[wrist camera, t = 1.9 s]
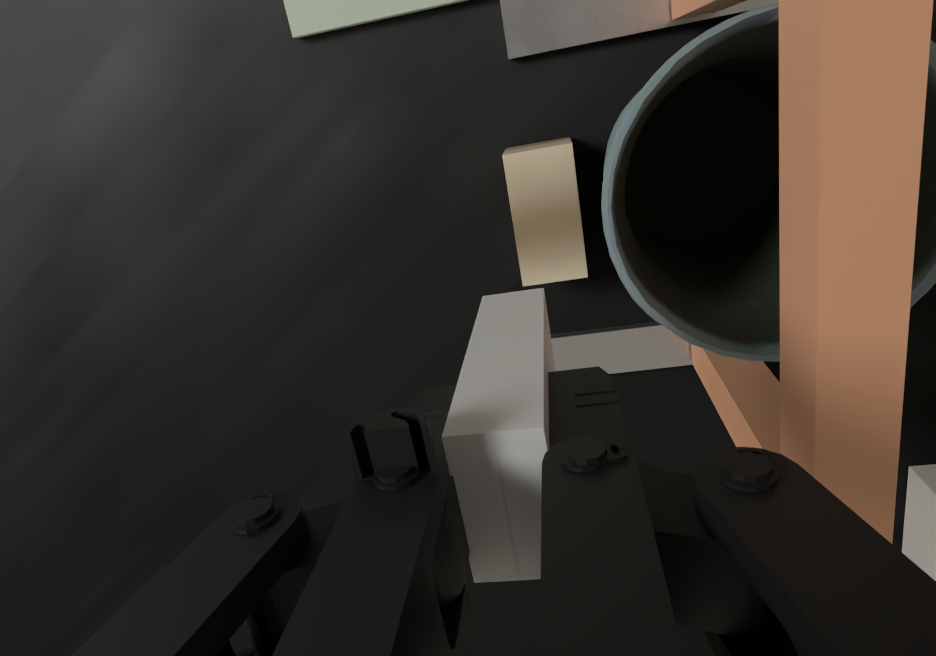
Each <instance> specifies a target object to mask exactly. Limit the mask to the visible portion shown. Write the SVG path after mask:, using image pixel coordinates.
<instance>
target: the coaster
mask: <svg viewBox="0 0 936 656" xmlns="http://www.w3.org/2000/svg"><path fill="white" fill-rule="evenodd" d="M283 1H284V5H285V9H286V13H287V17H288V21H289V24H290V28H291V32H292V36H293V38H302V37H306V36H311V35H315V34H320V33H324V32H329V31H333V30H338V29H342V28H347V27H351V26H356V25H360V24H365V23H369V22H374V21H378V20H383V19H387V18H392V17H396V16H401V15H405V14H410V13H414V12H419V11H423V10H428V9H432V8H437V7H441V6H446V5H450V4H455V3H459V2H464V1H468V0H283Z"/></svg>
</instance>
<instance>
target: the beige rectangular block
mask: <svg viewBox="0 0 936 656" xmlns="http://www.w3.org/2000/svg"><path fill="white" fill-rule="evenodd" d="M502 157H503V163H504V169H505V176H506V182H507V188H508V195H509V201H510V207H511V214H512V220H513V226H514V233H515V239H516V245H517V252H518V258H519V264H520V271H521V277H522V284H523V286H529V285H536V284H543V283H550V282H558V281H565V280H572V279H579V278H586V277H588V273H587V264H586V256H585V247H584V239H583V230H582V222H581V213H580V205H579V196H578V188H577V180H576V171H575V163H574V154H573V146H572V141H571V139H570V137H566V138H560V139H555V140H549V141H544V142H538V143H532V144H527V145H521V146H516V147H510V148H506V149H505V151H504V153H503V155H502Z"/></svg>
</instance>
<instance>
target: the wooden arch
mask: <svg viewBox="0 0 936 656" xmlns="http://www.w3.org/2000/svg"><path fill="white" fill-rule="evenodd" d="M744 1H747V0H671V8H672V20H676V19H681V18H686V17H691V16H696V15H701V14H706V13H711V12H715V11H720V10H724V9H726V8H729V7H731V6H734V5H736V4H739V3H742V2H744ZM932 12H933V0H779V254H780V382H779V381H778V380H777V379H776V377H775V376H774V375H773V374H772V372H771V371H770V370H769V368H768V367H767V366H766V365H765V363H764V362H763V361H748V360H743V359H737V358H732V357H726V356H722V355H719V354H716V353H714V352H711V351H708V350H706V349H703V348H700V347H698V346H695V345H692V344H691V349H692V364H693V366H694V368H695V370H696V372H697V373H698V375H699V377H700V379H701V381H702V383H703V385H704V387H705V389H706V390H707V392H708V394H709V396H710V398H711V400H712V402H713V404H714V406H715V407H716V409H717V411H718V413H719V415H720V417H721V419H722V421H723V423H724V424H725V426H726V428H727V430H728V432H729V434H730V436H731V438H732V440H733V441H734V443H735V445H736V447H750V448H751V447H754V448H761V449H765V450H769V451H772V452H775V453H779V454H782V455H784V456H786V457H787V458H789V459H791V460H792V461H794V462H796V463H797V464H799V465H800V466H801V467H802V468H803V469H804V470H806V471H807V472H808V473H809V474H810V475H811V476H813V477H814V478H815V479H816V480H817V481H819V482H820V483H821V484H822V485H823V486H824V487H826V488H827V489H828V490H829V491H830V492H831V493H833V494H834V495H835V496H836V497H837V498H839V499H840V500H841V501H842V502H843V503H844V504H846V505H847V506H848V507H849V508H850V509H851V510H853V511H854V512H855V513H856V514H857V515H858V516H860V517H861V518H862V519H863V520H864V521H866V522H867V523H868V524H869V525H870V526H871V527H873V528H874V529H875V530H876V531H877V532H878V533H880V534H881V535H882V536H883V537H884V538H886V539H887V540H888V541H889V542H890V543H891V544H892V540H893V527H894V514H895V500H896V487H897V474H898V461H899V448H900V434H901V421H902V408H903V395H904V382H905V368H906V355H907V342H908V329H909V316H910V302H911V289H912V276H913V263H914V249H915V236H916V223H917V210H918V197H919V183H920V170H921V157H922V144H923V131H924V117H925V104H926V91H927V78H928V65H929V51H930V38H931V25H932Z"/></svg>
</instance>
